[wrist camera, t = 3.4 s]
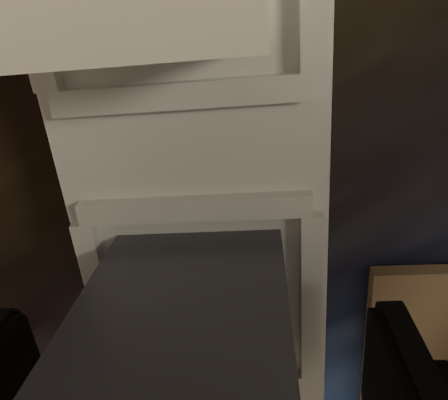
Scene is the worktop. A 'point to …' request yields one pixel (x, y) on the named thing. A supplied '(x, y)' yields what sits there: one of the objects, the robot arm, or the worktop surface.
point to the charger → (176, 323)
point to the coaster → (416, 300)
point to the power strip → (189, 127)
